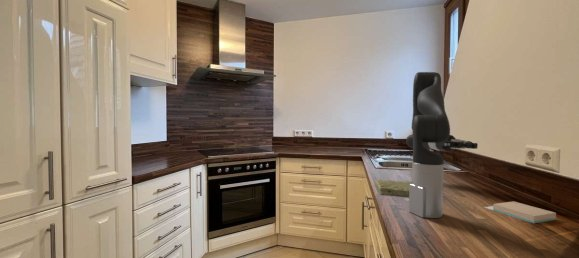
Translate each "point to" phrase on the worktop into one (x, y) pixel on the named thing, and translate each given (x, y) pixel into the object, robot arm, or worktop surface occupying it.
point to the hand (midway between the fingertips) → (475, 146)
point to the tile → (524, 212)
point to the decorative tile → (393, 187)
